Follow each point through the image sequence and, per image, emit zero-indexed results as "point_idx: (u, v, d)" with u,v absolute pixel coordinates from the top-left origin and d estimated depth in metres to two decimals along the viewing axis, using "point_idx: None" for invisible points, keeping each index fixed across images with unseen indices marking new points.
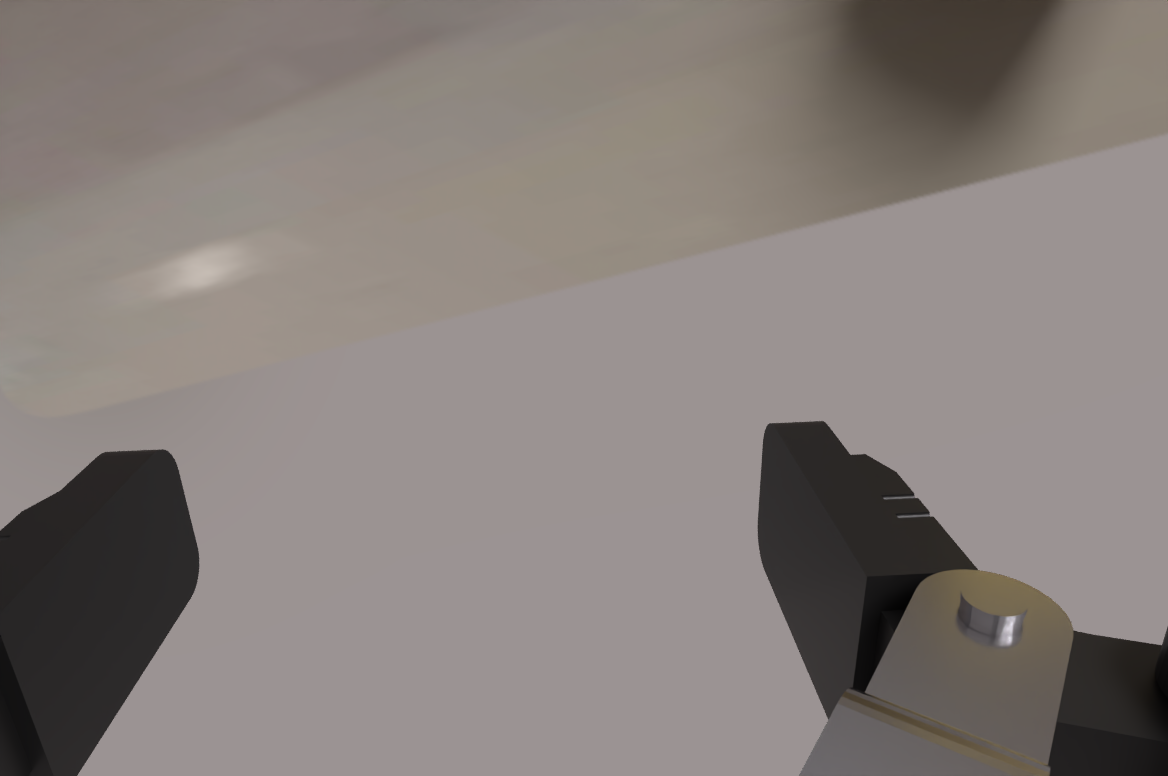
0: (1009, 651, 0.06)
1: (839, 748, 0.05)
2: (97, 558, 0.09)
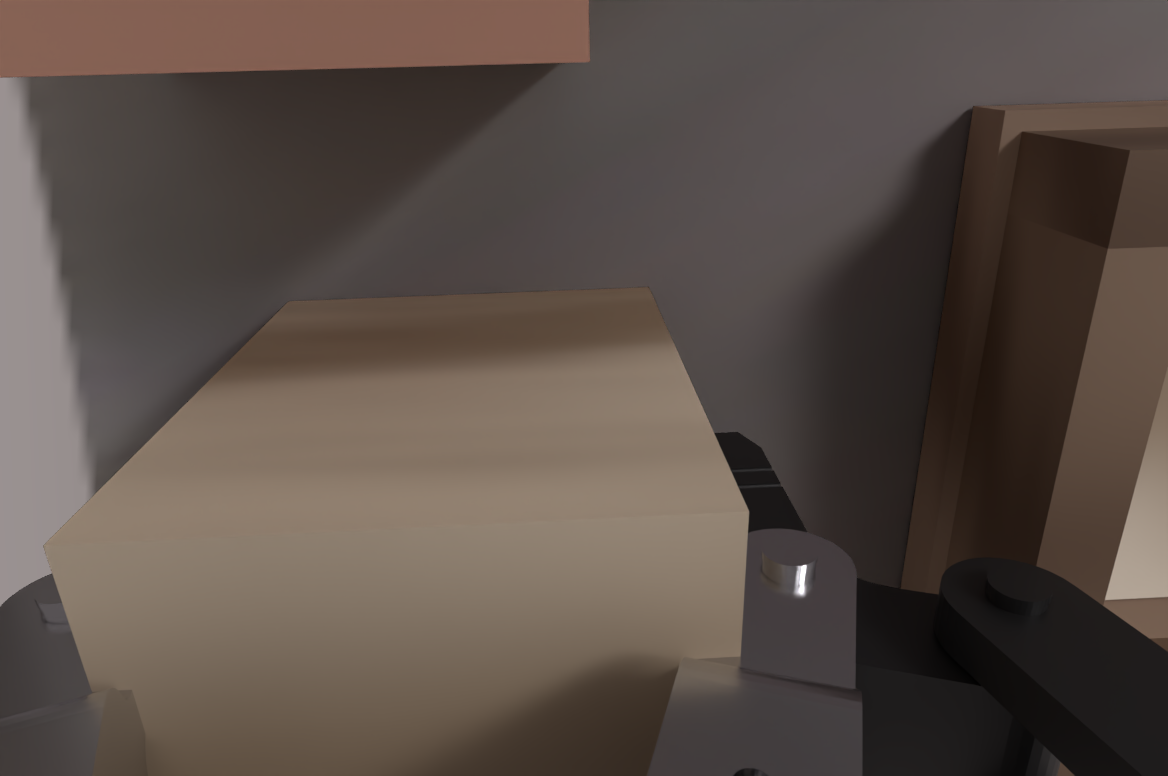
0: (792, 596, 0.07)
1: (686, 716, 0.05)
2: None
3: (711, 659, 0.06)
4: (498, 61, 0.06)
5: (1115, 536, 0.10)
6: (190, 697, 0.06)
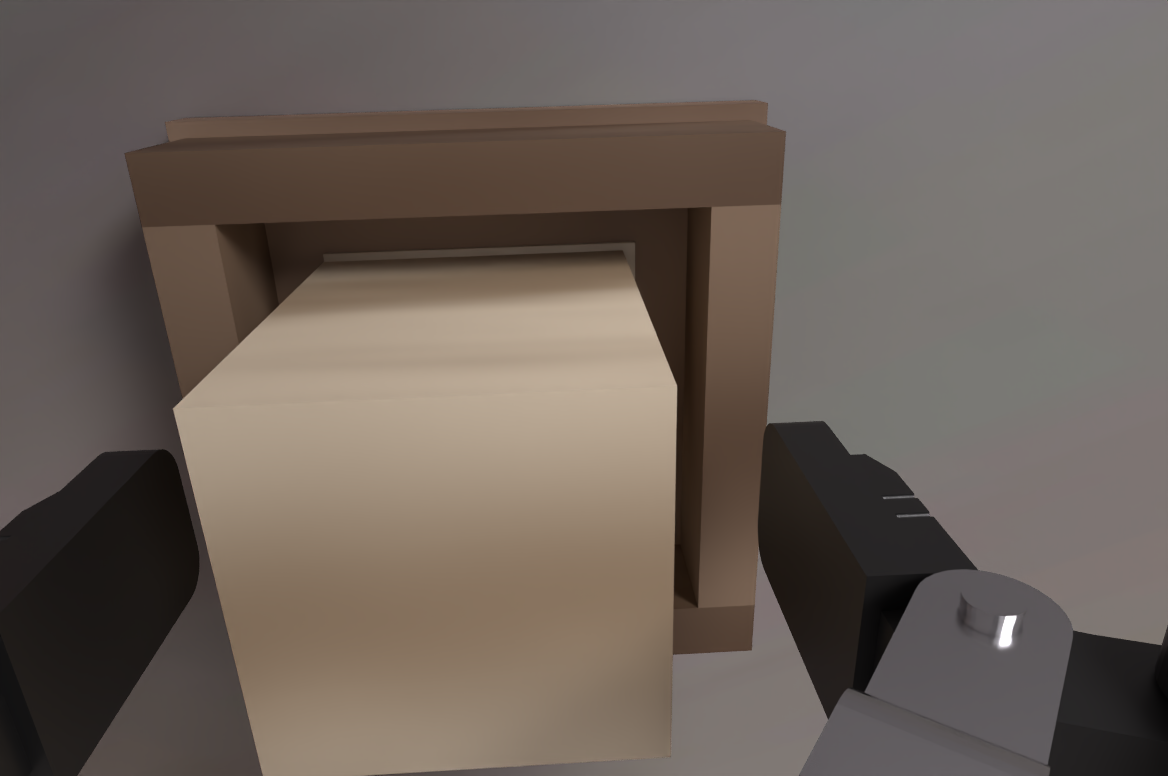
0: (1009, 651, 0.06)
1: (839, 748, 0.05)
2: (97, 557, 0.09)
3: None
4: None
5: None
6: (271, 528, 0.09)
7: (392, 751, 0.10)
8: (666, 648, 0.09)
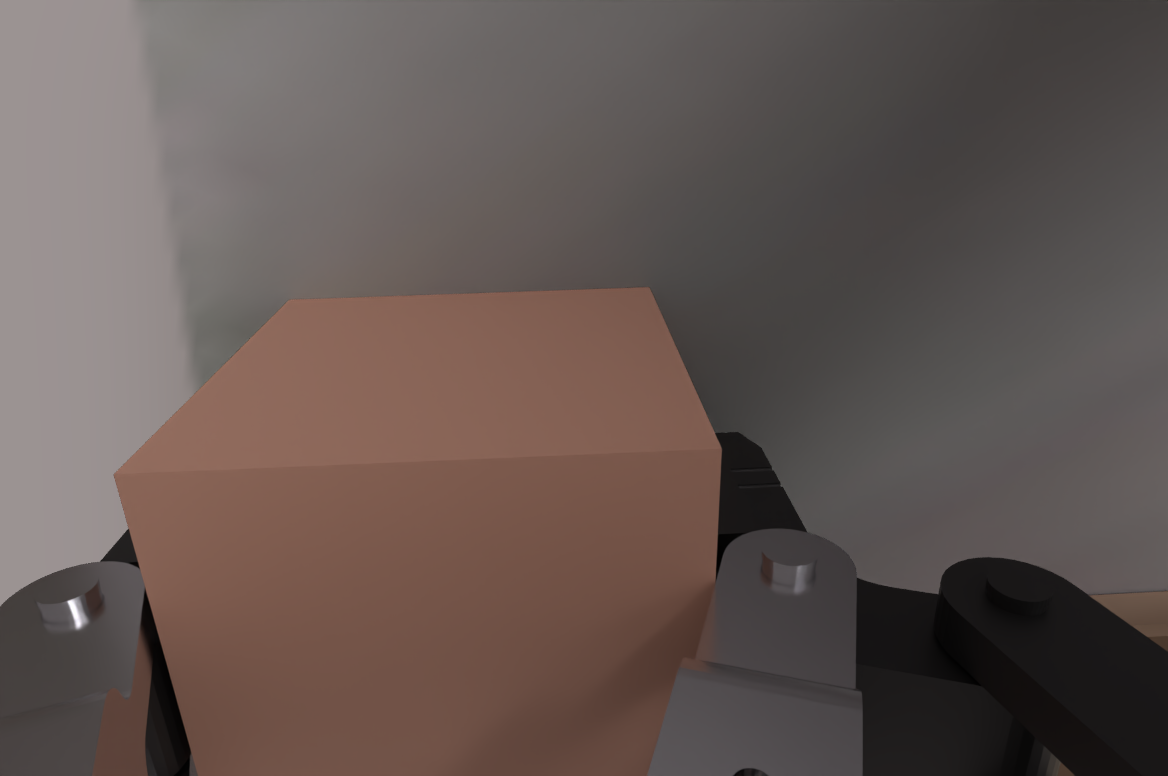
0: (792, 597, 0.07)
1: (685, 716, 0.05)
2: None
3: (711, 660, 0.06)
4: None
5: None
6: None
7: None
8: None
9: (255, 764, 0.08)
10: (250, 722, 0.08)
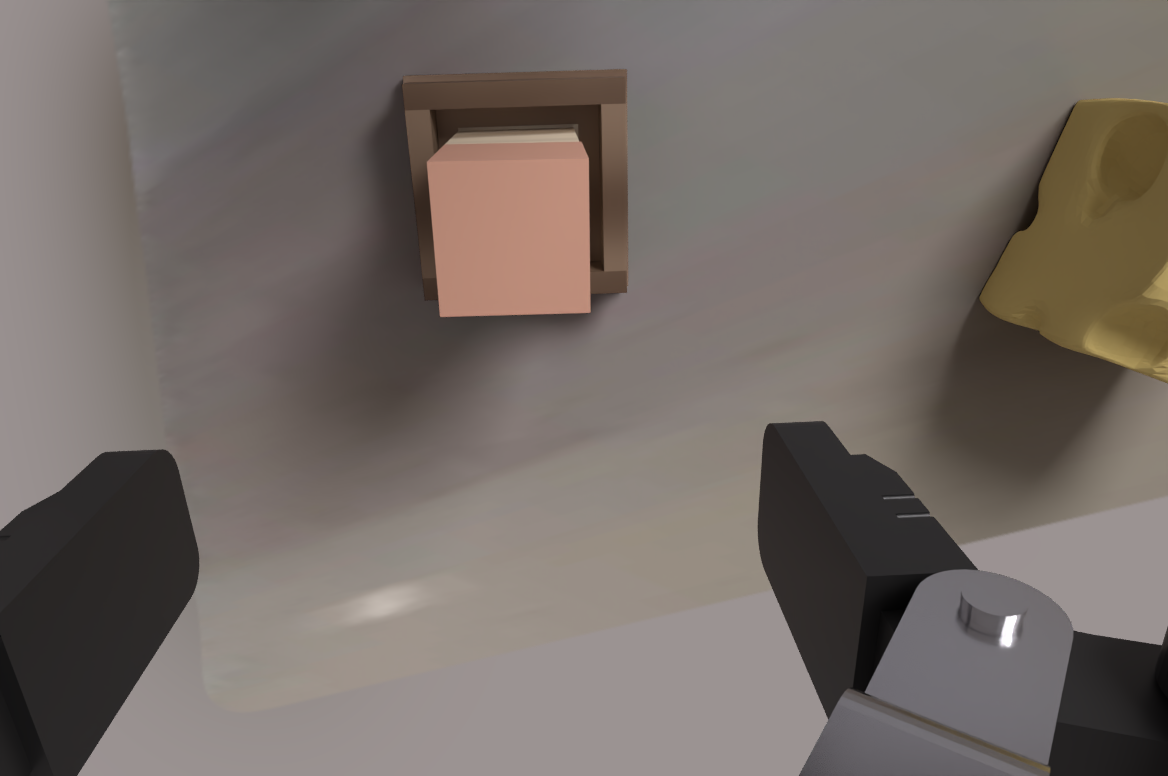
0: (1009, 651, 0.06)
1: (839, 748, 0.05)
2: (96, 557, 0.09)
3: None
4: None
5: None
6: None
7: None
8: None
9: (453, 264, 0.26)
10: (453, 247, 0.26)
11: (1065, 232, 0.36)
